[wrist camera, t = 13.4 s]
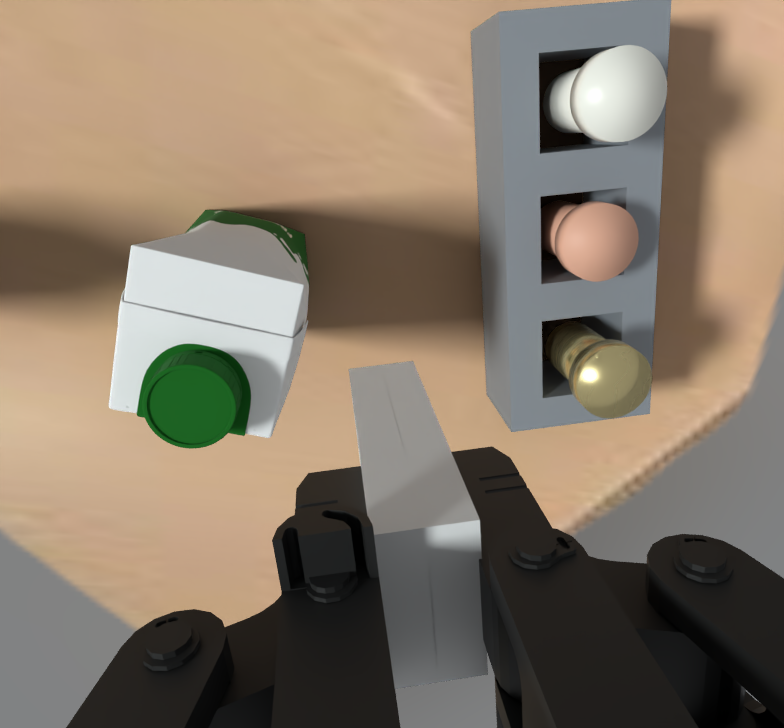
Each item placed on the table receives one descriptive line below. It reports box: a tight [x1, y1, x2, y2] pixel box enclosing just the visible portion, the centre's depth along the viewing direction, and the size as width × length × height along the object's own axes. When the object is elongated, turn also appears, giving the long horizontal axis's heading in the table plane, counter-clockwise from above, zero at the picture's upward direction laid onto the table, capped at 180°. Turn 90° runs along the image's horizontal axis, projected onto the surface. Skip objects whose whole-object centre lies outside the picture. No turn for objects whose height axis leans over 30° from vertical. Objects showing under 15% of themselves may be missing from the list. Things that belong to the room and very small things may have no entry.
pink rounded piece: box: [541, 201, 639, 282], centre depth 41 cm, size 5×5×7 cm
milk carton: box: [109, 210, 309, 448], centre depth 36 cm, size 9×9×20 cm
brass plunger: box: [545, 321, 652, 418], centre depth 42 cm, size 5×5×7 cm
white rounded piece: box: [543, 45, 667, 142], centre depth 36 cm, size 5×5×7 cm
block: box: [471, 0, 671, 432], centre depth 44 cm, size 26×10×7 cm, turn 5°
